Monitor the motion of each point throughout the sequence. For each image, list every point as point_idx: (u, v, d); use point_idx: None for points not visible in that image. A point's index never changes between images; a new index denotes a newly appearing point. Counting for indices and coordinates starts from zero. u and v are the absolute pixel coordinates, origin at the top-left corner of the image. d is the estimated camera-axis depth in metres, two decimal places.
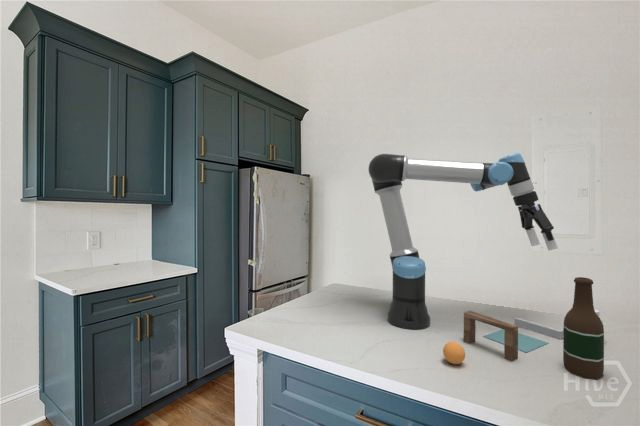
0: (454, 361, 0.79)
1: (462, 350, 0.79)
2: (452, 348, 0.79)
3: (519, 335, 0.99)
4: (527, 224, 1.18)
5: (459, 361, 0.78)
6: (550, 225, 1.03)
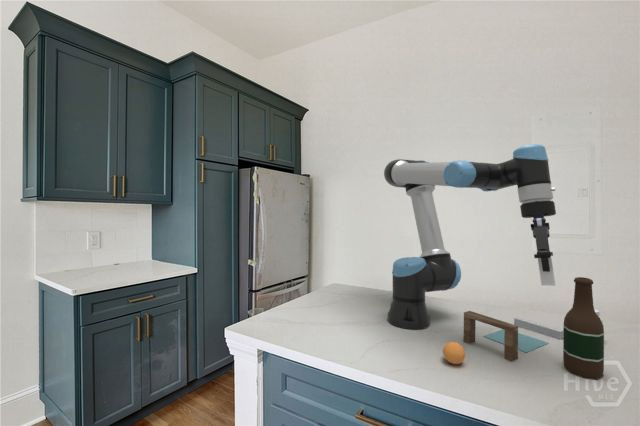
0: (454, 361, 0.79)
1: (462, 350, 0.79)
2: (452, 348, 0.79)
3: (519, 335, 0.99)
4: None
5: (459, 361, 0.78)
6: (546, 249, 0.71)
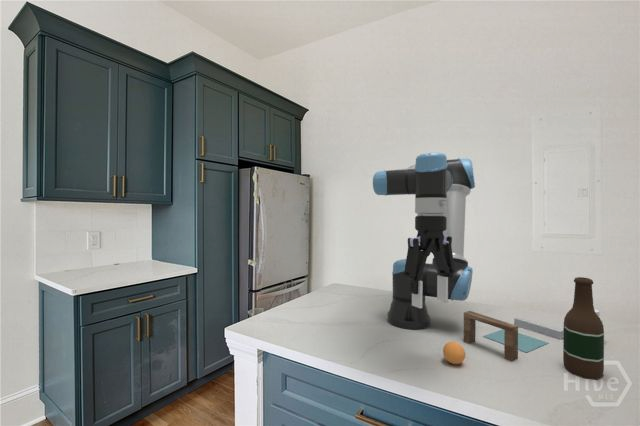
0: (454, 361, 0.79)
1: (462, 350, 0.79)
2: (452, 348, 0.79)
3: (519, 335, 0.99)
4: (438, 265, 0.79)
5: (459, 361, 0.78)
6: (410, 273, 0.72)
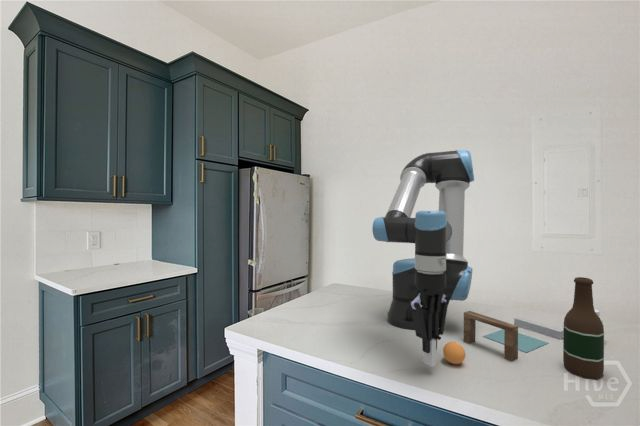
0: (454, 361, 0.79)
1: (462, 350, 0.79)
2: (452, 348, 0.79)
3: (519, 335, 0.99)
4: None
5: (459, 361, 0.78)
6: (421, 335, 0.74)
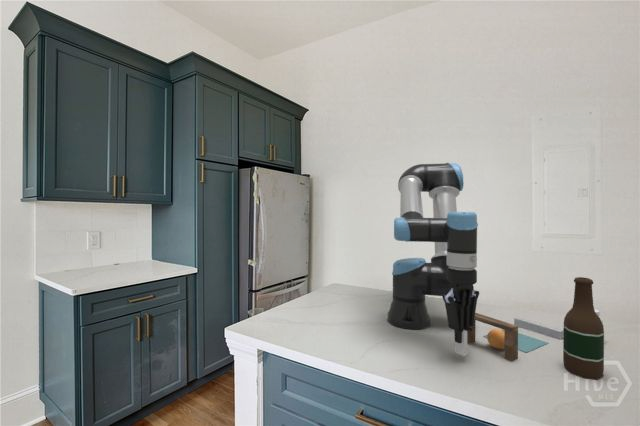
0: (498, 342, 0.87)
1: None
2: (499, 331, 0.89)
3: (519, 335, 0.99)
4: None
5: (502, 344, 0.87)
6: (454, 326, 0.80)
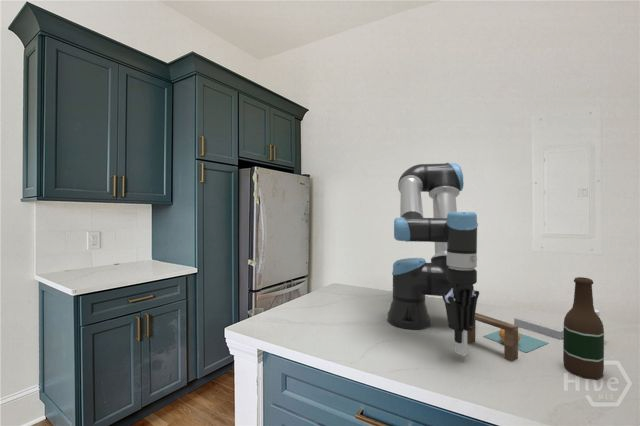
0: None
1: None
2: None
3: None
4: None
5: (518, 333, 0.91)
6: (454, 326, 0.80)
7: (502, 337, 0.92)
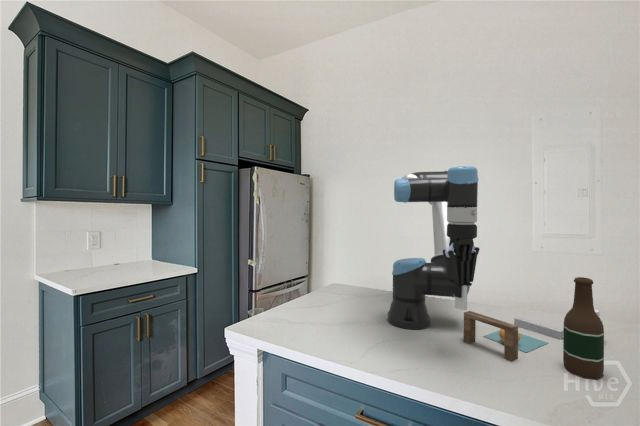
0: None
1: None
2: None
3: None
4: None
5: (518, 333, 0.91)
6: (454, 280, 0.80)
7: (502, 337, 0.92)
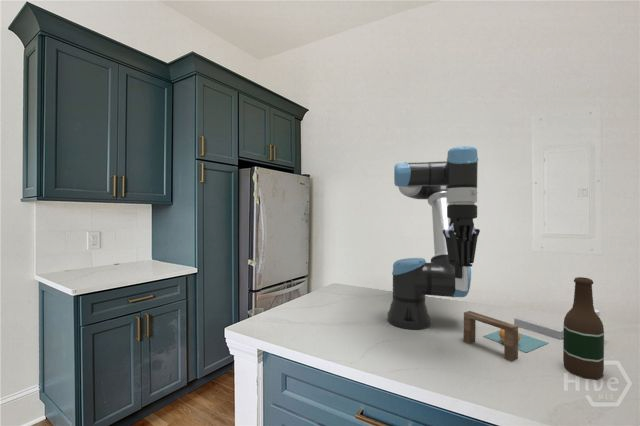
0: None
1: None
2: None
3: None
4: None
5: (518, 333, 0.91)
6: (455, 261, 0.80)
7: (502, 337, 0.92)
